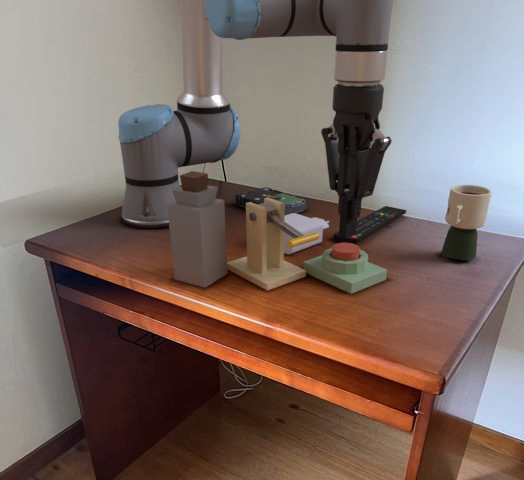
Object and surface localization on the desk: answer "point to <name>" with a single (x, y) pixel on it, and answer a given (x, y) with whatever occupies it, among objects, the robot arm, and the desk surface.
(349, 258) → the button
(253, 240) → the bracket
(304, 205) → the disk drive
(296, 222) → the charger
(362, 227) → the remote control
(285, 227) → the t-handle lever
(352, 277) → the button box
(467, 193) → the character mug
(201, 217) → the perfume bottle
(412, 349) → the desk surface
